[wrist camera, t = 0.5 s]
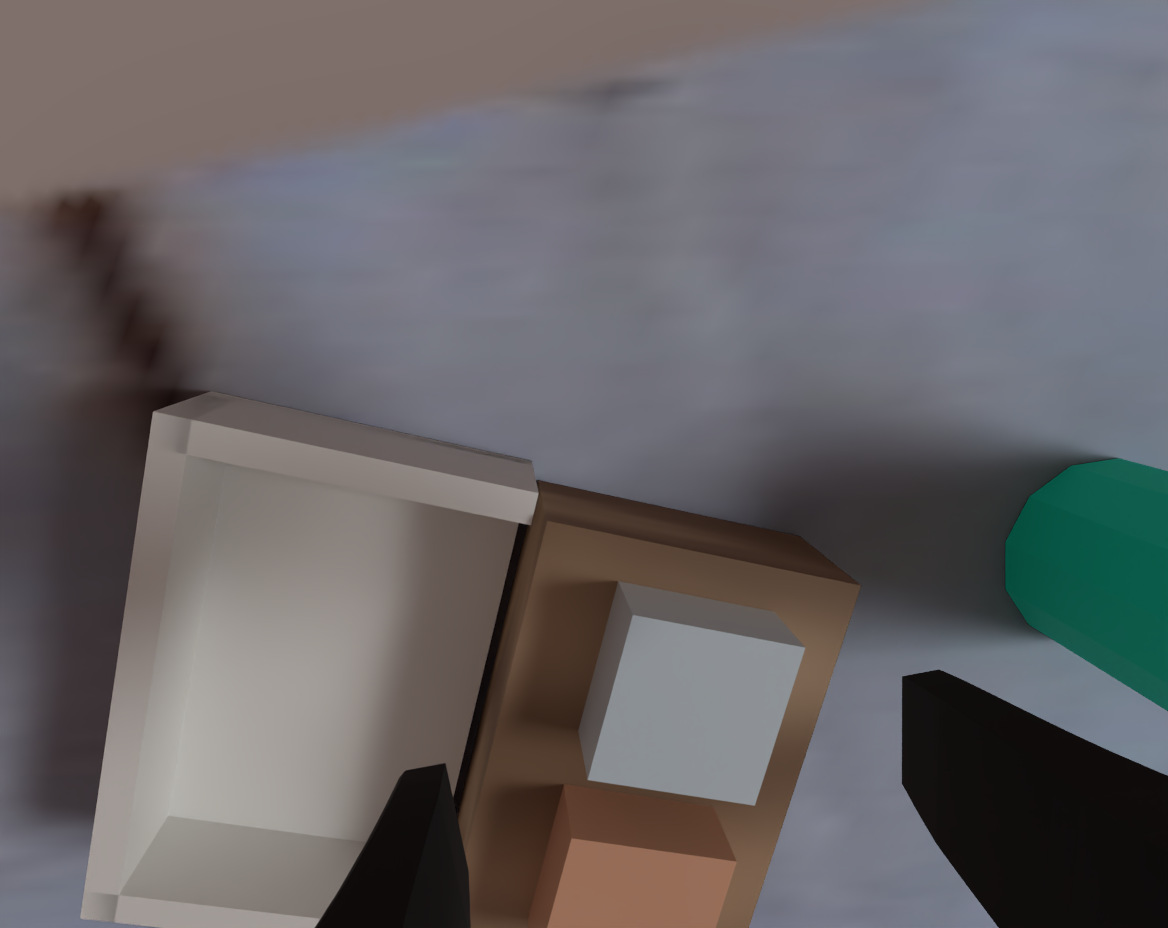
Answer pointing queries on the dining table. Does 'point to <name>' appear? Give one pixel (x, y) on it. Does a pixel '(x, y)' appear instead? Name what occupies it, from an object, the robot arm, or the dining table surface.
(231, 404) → the tray
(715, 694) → the grey rectangular prism
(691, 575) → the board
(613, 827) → the tile terracotta
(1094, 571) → the candle
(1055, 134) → the dining table surface
